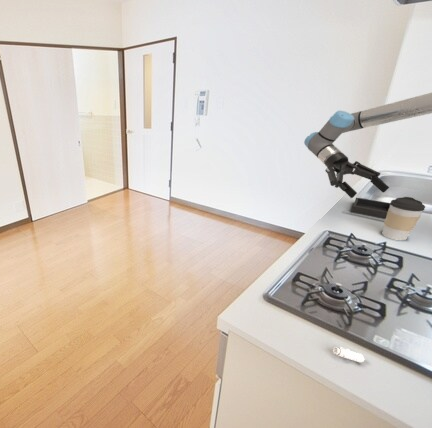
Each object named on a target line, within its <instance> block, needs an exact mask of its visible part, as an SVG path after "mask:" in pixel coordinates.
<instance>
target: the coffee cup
mask: <svg viewBox="0 0 432 428" xmlns="http://www.w3.org/2000/svg"><path fill="white" fill-rule="evenodd" d="M389 203H390V208H389V209H388V213H387V216H386V219H384V222H383V224H384V225H383V228H382V232H381V235H382V236H384V237H385V238H388V239H391V240H396V241H406V240H407V239H408V237H409V235H410V234H411V232H412V231H413V230H414V228H415V226H416V225H417V223H418V221H419V219H420V218H421V215H422V213H423V211H425V208H426V206H425V204H423V201H420V200H419V199H415V198H414V197H411V196H403V197H396V198H395V199H392V200H391V201H390V202H389Z"/></svg>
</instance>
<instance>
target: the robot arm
mask: <svg viewBox="0 0 432 428" xmlns="http://www.w3.org/2000/svg"><path fill="white" fill-rule="evenodd" d="M430 114H432V92H428V93H424V94H421V95H417V96H412V97H409V98H405V99H402V100H398V101H394V102H390V103H387V104H383V105H379V106H375V107H371V108H368V109H364V110H359V111H356V112H352V113H350V112H347V111H346V110H337V111H336V112H335V113H333V114H332V115H331V116H330V117H329V119H328V120H327V121H326V123H325V124H324V125H323V126H322V127H321V129H320V130H319V131H314V132H311V133H310V134H309V135H307V136H306V138H305V139H304V142H303V143H304V146H305V147H306V148H307V150H309V151H310V152H311V153H312V154H313V155H314V156H315V157H316V158H317V159H319V161H320V162H322V163H323V164H324V165H325V167H326V169H325V170H324V172H325V173H326V174H327V176H328V180H329V184H330V186H332V187H334V188H335V189H336V188H337V189H338V188H339V189H340V190H341V191H342V192H344V193H345V194H346V195H347V196H348V197H349V198H350V199H353V198H355V196H356V195H357V194H358V192H357V191H356V190H355V189H354V188H353V187H352V186H351V185H350V184H349V183H347V182H346V181H344V176H345V175H356V176H358V177H361V178H365V179H367V180H369V181H370V183H371V184H373V185H374V186H375V187H376V188H377V189H378V190H379V191H381V193H386V191H387V190H388V189H390V186H389V185H387V184H386V182H384V180H382V179H381V178H380V175H381V172H379V171H377V170H375V169H372V168H370V167H368V166H366V165H364V164H362V163H361V162H360V161H356V160H355V161H354V163H353V162H350V160H349V157H348V156H347V155H345V153H344V152H343V151H341V149H339V148H338V147H337V146H335V145H334V143H335V141H337V139H338V138H340V136H341V135H342V134H345V133H348V132H353V131H358V130H361V129H366V128H370V127H375V126H380V125H384V124H389V123H394V122H399V121H402V120H407V119H412V118H416V117H420V116H425V115H430Z"/></svg>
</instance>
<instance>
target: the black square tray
mask: <svg viewBox="0 0 432 428" xmlns="http://www.w3.org/2000/svg"><path fill="white" fill-rule="evenodd" d="M353 202H354V203H353V205H352V208H351V210H350V213H353V214H358V215H363V216H367V217H369V216H370V217H375V218H380V219H383V220H385V219H386V216H387V213H388V209H389V208H390V203H391V202H388V201H387V202H386V201H380V200H374V199H368V198H362V197H357V196H356V197H355V199H354V201H353Z"/></svg>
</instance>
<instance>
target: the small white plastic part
mask: <svg viewBox="0 0 432 428" xmlns="http://www.w3.org/2000/svg"><path fill="white" fill-rule="evenodd" d="M332 351H333V354H334V355H336V356H337V357H341V358H344V359H348V360H351V361H354V362H357V363H363V362H365V360H366V358H365V356H364V355H363V354H362V353H360V352H356V351H354V350H351V349H350V348H346V347H343V346H334V347H333V349H332Z"/></svg>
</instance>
